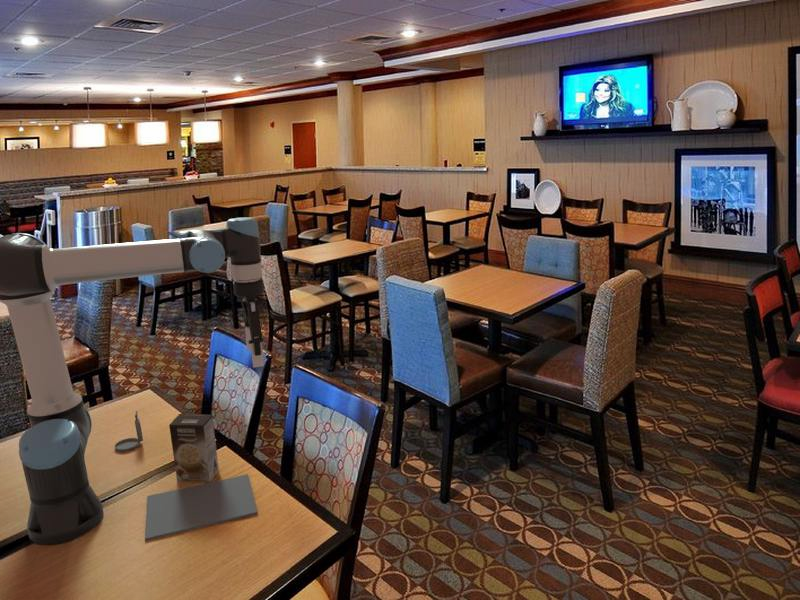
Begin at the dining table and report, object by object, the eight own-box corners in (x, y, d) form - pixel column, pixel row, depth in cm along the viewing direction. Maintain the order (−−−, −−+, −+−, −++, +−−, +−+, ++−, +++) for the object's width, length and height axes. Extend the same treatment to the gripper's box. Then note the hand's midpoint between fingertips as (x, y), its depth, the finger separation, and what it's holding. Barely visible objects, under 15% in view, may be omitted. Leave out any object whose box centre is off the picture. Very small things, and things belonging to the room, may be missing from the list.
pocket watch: (109, 449, 170) (104, 417, 167) (134, 436, 177) (129, 405, 175) (129, 455, 166) (123, 422, 164) (154, 442, 173) (149, 410, 171)
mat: (145, 541, 130) (144, 538, 130) (147, 498, 146) (147, 495, 145) (257, 514, 138) (257, 511, 138) (248, 476, 154) (248, 474, 153)
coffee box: (175, 482, 152) (166, 424, 148) (186, 469, 158) (178, 413, 154) (210, 483, 151) (202, 425, 147) (220, 469, 157) (213, 413, 153)
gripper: (269, 288, 142) (277, 371, 148) (256, 268, 165) (263, 341, 171) (237, 291, 140) (245, 376, 145) (228, 271, 163) (236, 345, 168)
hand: (255, 357), depth 158 cm, fingers open, 13 cm apart
